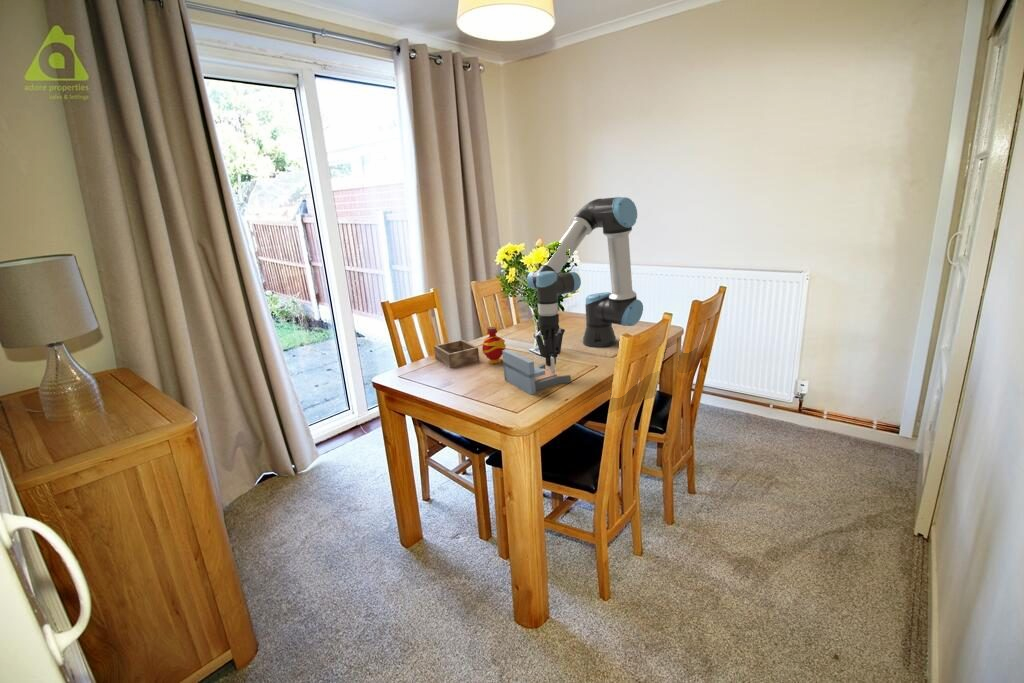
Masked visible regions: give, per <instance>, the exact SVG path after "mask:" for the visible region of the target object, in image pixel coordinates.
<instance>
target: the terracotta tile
mask: <svg viewBox="0 0 1024 683" xmlns="http://www.w3.org/2000/svg"><path fill="white" fill-rule="evenodd" d="M543 370H545V375H542V376H539V377H535V382H537V381H540V380H544V379H547V378H551V377H555V376H558V375H557V373H556V372H555V373H552V372H550V371H548V369H547V368H546V369H544V368H543Z"/></svg>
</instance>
